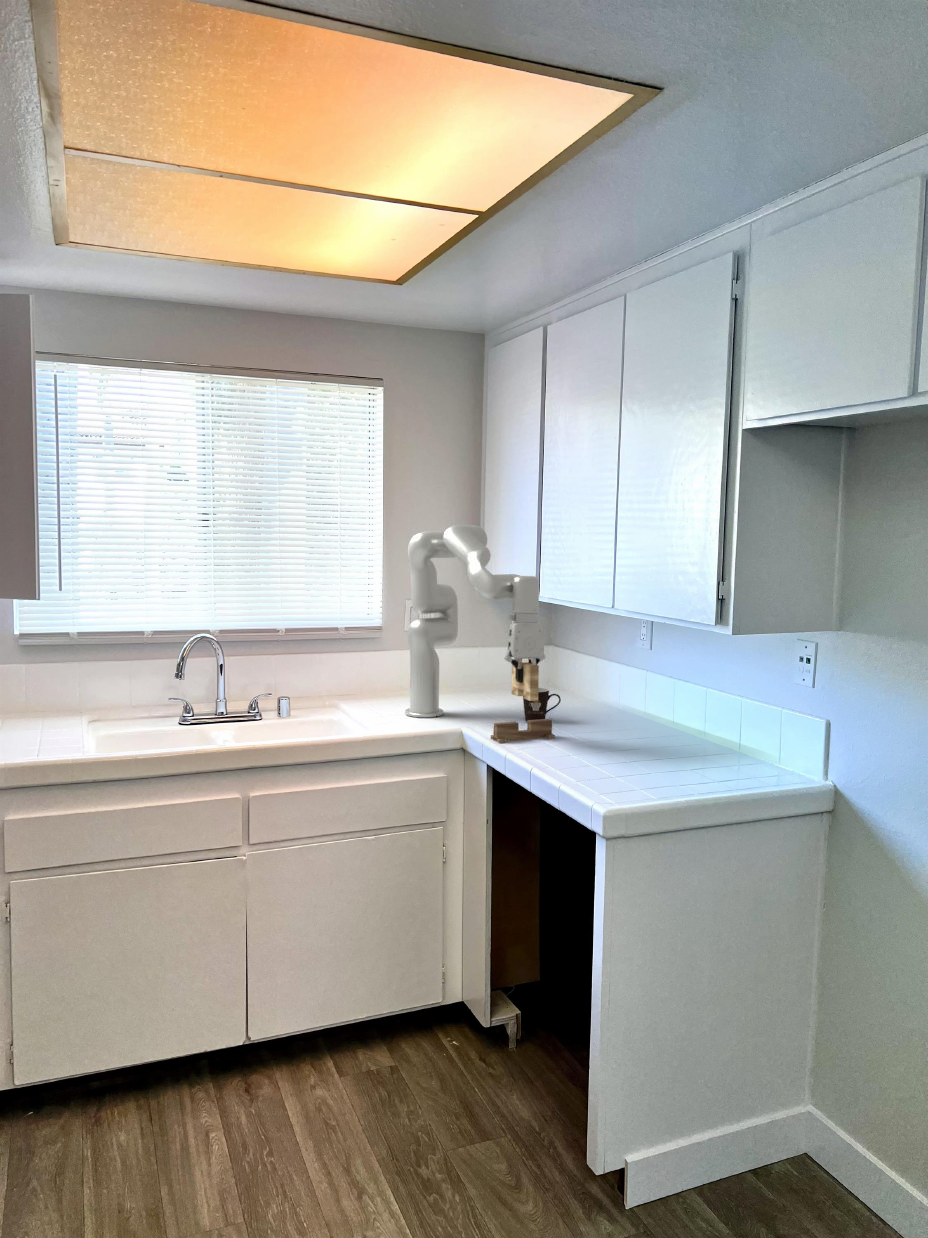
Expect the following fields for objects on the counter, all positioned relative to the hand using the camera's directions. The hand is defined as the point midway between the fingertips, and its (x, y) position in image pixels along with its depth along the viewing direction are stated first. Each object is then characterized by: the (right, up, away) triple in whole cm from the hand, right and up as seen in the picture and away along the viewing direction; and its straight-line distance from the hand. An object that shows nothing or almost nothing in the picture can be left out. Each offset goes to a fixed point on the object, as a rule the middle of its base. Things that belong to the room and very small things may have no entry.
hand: (524, 681), depth 263 cm
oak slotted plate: (0, -5, 0) cm, 5 cm away
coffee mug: (+6, -15, +27) cm, 31 cm away
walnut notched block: (0, -17, +2) cm, 17 cm away
